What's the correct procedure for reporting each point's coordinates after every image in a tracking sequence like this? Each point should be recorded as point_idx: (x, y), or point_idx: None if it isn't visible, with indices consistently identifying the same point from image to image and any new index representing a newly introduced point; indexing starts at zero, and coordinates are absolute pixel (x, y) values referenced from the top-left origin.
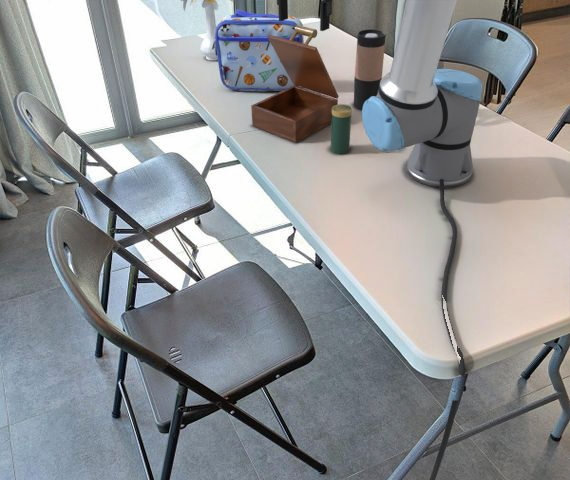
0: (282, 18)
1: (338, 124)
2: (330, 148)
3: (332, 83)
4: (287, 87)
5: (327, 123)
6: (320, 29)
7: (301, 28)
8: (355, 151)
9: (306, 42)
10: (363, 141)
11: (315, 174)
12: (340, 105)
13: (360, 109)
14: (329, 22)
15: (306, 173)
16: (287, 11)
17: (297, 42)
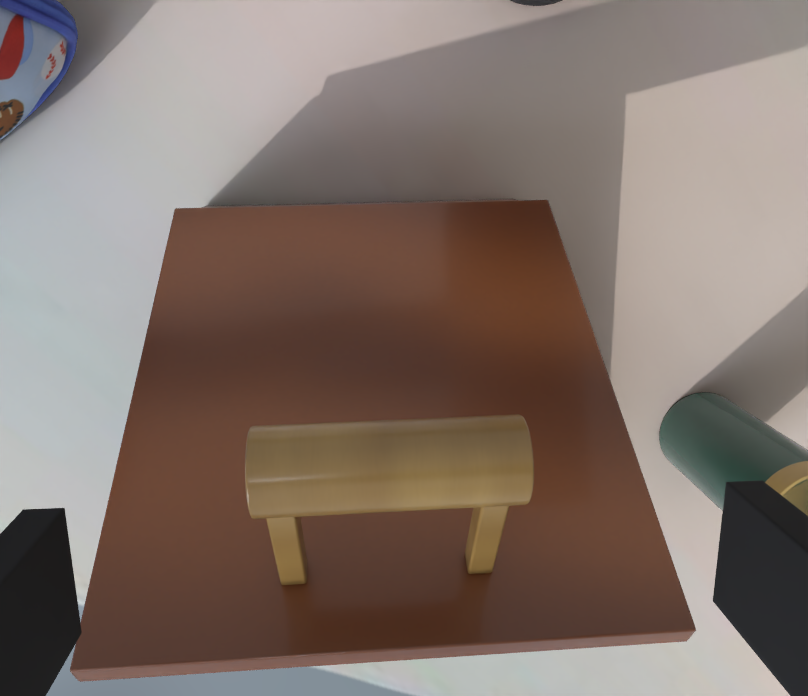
0: (66, 622)
1: None
2: (668, 459)
3: (577, 289)
4: (34, 105)
5: None
6: (723, 607)
7: (352, 512)
8: (762, 397)
9: (492, 543)
10: (746, 300)
11: (725, 630)
12: (792, 500)
13: (547, 4)
14: (802, 512)
15: (693, 646)
16: (25, 567)
17: (466, 647)
